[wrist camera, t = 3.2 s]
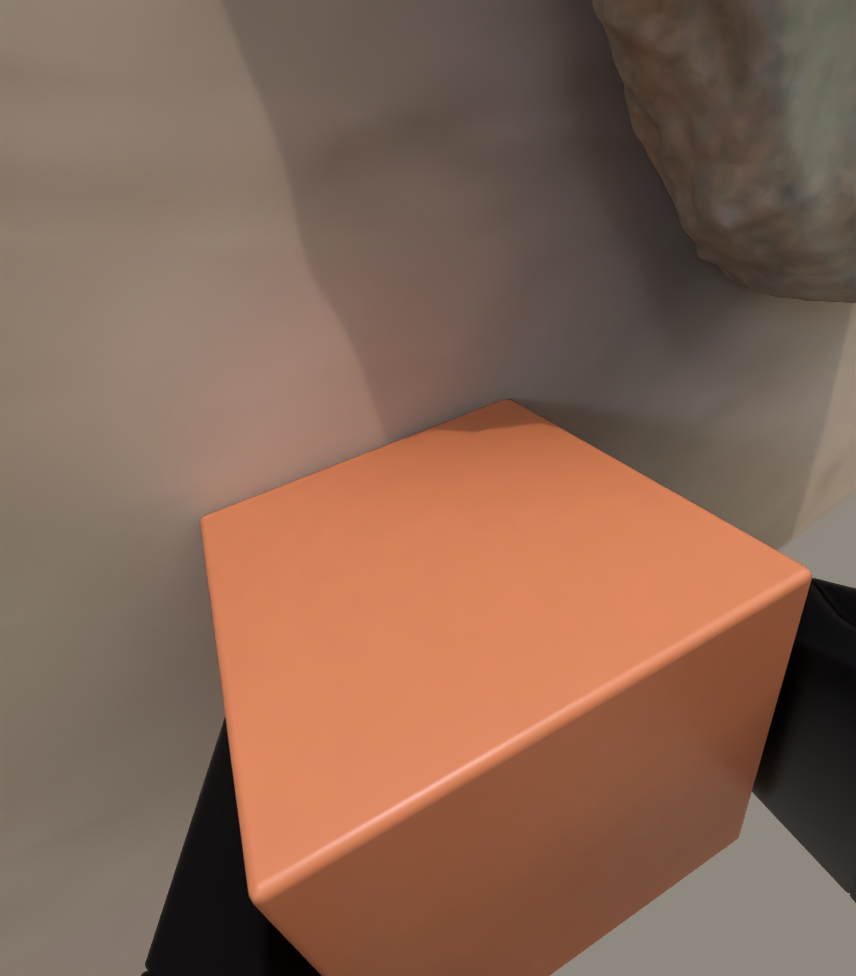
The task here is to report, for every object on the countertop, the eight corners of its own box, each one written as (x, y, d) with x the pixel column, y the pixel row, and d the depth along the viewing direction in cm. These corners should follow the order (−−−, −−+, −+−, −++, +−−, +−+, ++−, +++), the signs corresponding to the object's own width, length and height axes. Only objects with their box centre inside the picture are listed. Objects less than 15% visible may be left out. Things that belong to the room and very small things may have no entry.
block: (533, 610, 11) (742, 838, 7) (310, 724, 10) (412, 1078, 6) (508, 395, 8) (820, 568, 4) (197, 516, 7) (243, 906, 3)
